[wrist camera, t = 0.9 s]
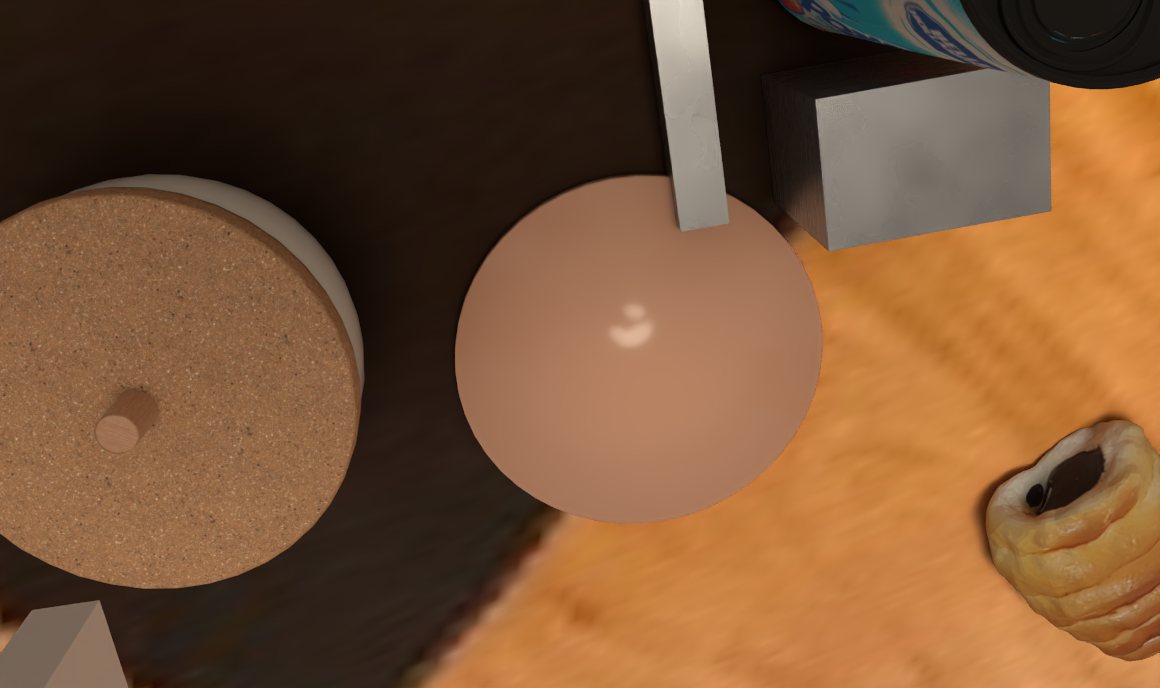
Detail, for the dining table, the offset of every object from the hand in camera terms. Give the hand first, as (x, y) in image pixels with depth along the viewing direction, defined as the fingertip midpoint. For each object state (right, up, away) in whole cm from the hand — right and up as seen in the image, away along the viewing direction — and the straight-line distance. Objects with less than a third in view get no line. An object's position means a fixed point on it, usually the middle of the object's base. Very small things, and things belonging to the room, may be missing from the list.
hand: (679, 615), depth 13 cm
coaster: (+1, +3, +23) cm, 23 cm away
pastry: (+17, -3, +27) cm, 32 cm away
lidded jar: (-13, +4, +21) cm, 25 cm away
